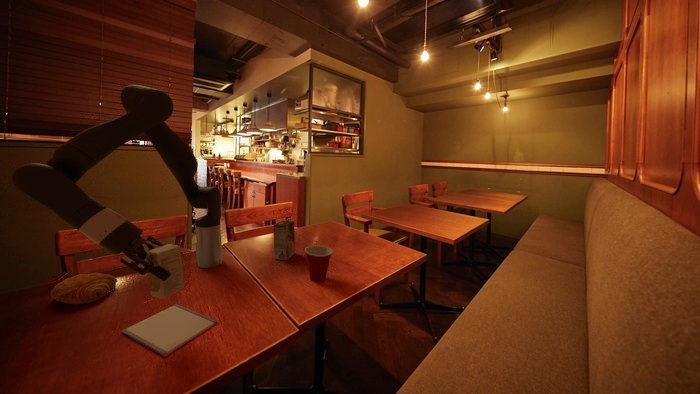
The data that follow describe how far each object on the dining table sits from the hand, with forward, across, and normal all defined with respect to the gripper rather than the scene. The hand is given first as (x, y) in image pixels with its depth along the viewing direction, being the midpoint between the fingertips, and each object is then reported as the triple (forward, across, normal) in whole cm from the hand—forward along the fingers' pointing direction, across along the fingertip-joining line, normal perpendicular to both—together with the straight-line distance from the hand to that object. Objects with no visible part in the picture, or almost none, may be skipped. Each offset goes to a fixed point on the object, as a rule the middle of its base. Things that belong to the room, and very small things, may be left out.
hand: (172, 271), depth 69 cm
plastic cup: (+42, +16, -19) cm, 49 cm away
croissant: (-11, +27, +34) cm, 45 cm away
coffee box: (+35, +43, -12) cm, 57 cm away
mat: (+10, 0, +12) cm, 16 cm away
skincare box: (+3, 0, +5) cm, 6 cm away
